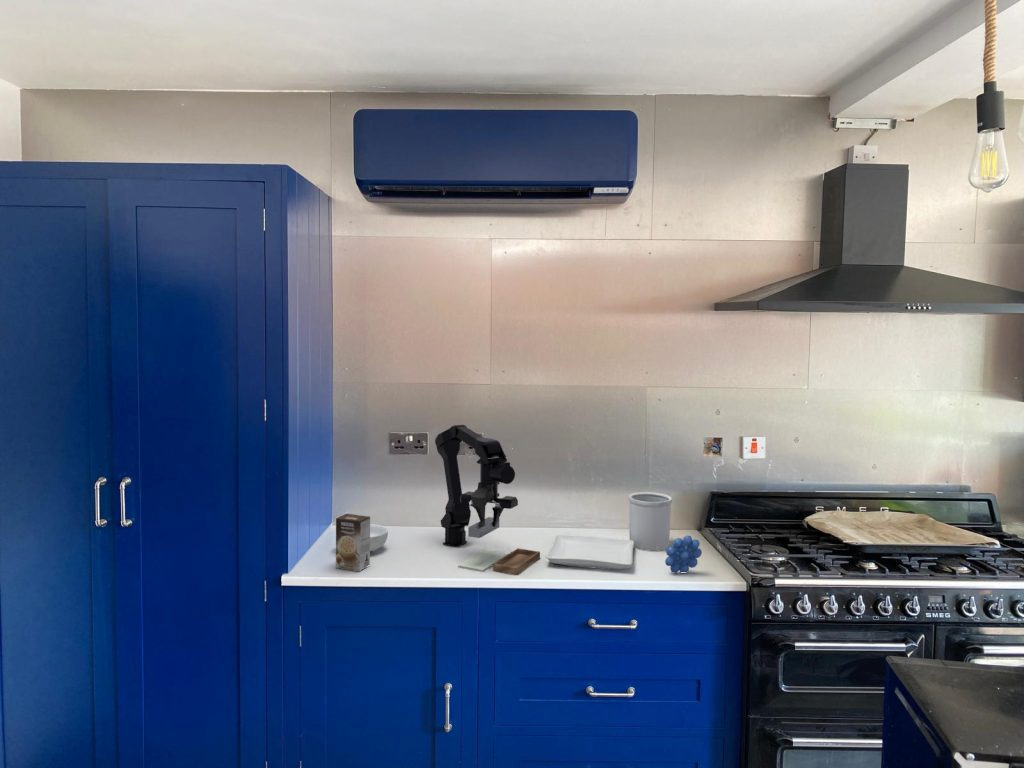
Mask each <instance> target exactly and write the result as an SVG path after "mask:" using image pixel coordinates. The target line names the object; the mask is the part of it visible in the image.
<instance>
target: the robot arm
mask: <svg viewBox="0 0 1024 768" xmlns="http://www.w3.org/2000/svg"><path fill="white" fill-rule="evenodd" d="M462 442H463V443H464V444H466V445H468V446H470V447H471V448H472V449H473V450H474V454H476V455H477V456H478V457H479V459H478V460H476V463H477V464H478V465H480V467H479V468H480V469H479V470H480V471H479V473H480V474H479V477H480V481H479V482H478V484H477V489H475V490H474V491H466V492H464V493H463V491H462V484H461V477H460V476H461V474H460V469H459V464H458V463H459V462H458V455H459V452H460V450H461V443H462ZM434 444H435V446H436V450H437V453H438V454H439V455H440V457H441V458H442V460H443V461H442V462H443V469H444V475H445V483H446V488H447V489H446V491H447V496H448V497H447V498H448V500H447V503H446V505H445V509H444V510H445V514H444V516H442V517H441V520H440V525H441V527H442V528H444V541H443V542H442V545H444V546H451V547H456V548H457V547H459V548H460V546H463V545H465V544H466V543H468V541H467V539H466V537H467V534H466V533H467V531H466V530H465V529H466V527H469V525H470V520H471V515H472V511H471V508H470V507H472V508H474V510H475V511H476V513H477V516H478V518H479V522H480V521H482V520H484V519H486V505H487V504H488V503H490V504H495V506H492V508H491V509H492V511H493V514H492V515H493V516H492V517H493V527H495V526H496V524H497V522H498V520H499V521H500V518H501V514H502V513H503V511H504V509H508V510H510V509H513V508H516V507H518V505H519V500H518V498H517V496H509V495H506V496H504V497H500V492H498V489H499V487H498V485H500V483H501V484H505V485H509V484H511V483H512V482H513V481H514V480H515V478H516V472H515V469H514V468H513V467H512V466H511V462H509V461H508V459H507V456H506V454H505V452H504V450H503V446H502V445H501V442H500V441H499V440H497V439H495V438H488V437H483V436H482V435H480V434H479V433H477V432H475V431H473V430H472V429H470V428H468V427H467V425H466V424H456V425H455V424H454V425H453V426H451V427H449V428H448V429H446V430H444V431H442V432H440V433H438V434H437V436H436V437H435V440H434Z"/></svg>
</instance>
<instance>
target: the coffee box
mask: <svg viewBox="0 0 1024 768" xmlns="http://www.w3.org/2000/svg"><path fill="white" fill-rule="evenodd" d="M370 524H371V516H368V515H361V514H352V513H345V514H343V515H341V516H339V517H336V518H335V569H339V568H341V569H340V570H345V569H346V570H345V571H351V570H356V571H355V572H358V571H360V572H362V571H363V570H362V569H364V568H365V567H367V566H368V565H371V552H370ZM367 568H368V567H367ZM365 569H366V568H365ZM365 569H364V570H365ZM361 570H362V571H361Z"/></svg>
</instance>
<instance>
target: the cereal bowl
mask: <svg viewBox="0 0 1024 768" xmlns="http://www.w3.org/2000/svg"><path fill="white" fill-rule="evenodd" d="M388 533H389V531H388V528H387V526H383V525H380V524H374V523H370V551H373V550H374V551H376V550H378V549H380V548H382V547H383V546H384V545H385V544H386V542H387V539H388V535H389V534H388ZM374 551H373V552H374Z"/></svg>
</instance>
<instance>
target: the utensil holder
mask: <svg viewBox="0 0 1024 768" xmlns="http://www.w3.org/2000/svg"><path fill="white" fill-rule="evenodd" d="M628 500H629V501H628V502H629V506H628V507H629V513H628V514H629V515H628V516H629V525H628V526H629V527H628V528H629V530H628V531H629V532H628V533H629V540H632V541H634V546H633V549H636V550H640V549H641V550H642V551H645V550H650V551H649V552H657V551H656V550H661V551H664V549H665V550H667V548H668V547H670V536H671V535H670V533H671V532H670V531H671V510H672V509H671V508H672V507H671V506H672V502H673V498H672V496H670V495H669V494H665V493H661V492H654V491H653V492H651V491H649V492H648V491H641V492H633V493H630V494H629V495H628Z"/></svg>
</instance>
